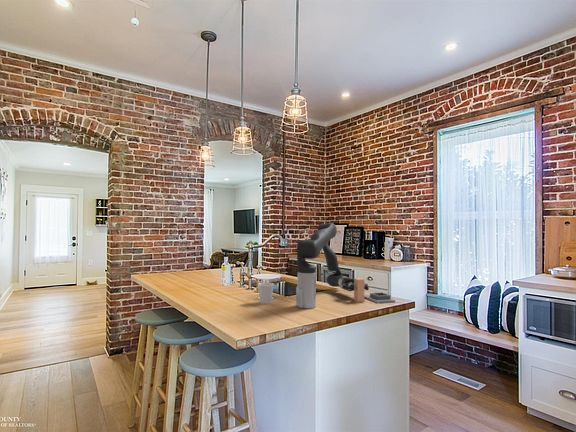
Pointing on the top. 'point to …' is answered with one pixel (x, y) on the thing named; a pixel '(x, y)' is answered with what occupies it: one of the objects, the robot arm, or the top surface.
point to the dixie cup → (265, 292)
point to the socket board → (379, 298)
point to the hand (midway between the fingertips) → (360, 288)
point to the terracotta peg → (358, 289)
